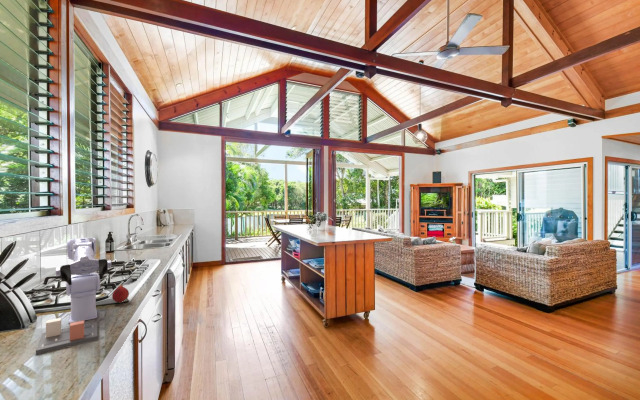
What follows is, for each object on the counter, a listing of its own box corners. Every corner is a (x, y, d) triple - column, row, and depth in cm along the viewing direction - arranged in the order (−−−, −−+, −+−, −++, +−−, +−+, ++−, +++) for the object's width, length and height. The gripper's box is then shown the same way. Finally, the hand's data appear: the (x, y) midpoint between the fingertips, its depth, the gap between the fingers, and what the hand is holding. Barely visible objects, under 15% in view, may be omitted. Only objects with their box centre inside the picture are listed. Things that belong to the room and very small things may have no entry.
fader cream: (46, 334, 91) (46, 320, 90) (61, 331, 93) (61, 317, 93) (45, 337, 88) (45, 323, 88) (60, 334, 91) (60, 320, 91)
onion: (120, 306, 117) (120, 287, 117) (108, 305, 119) (108, 286, 118) (132, 301, 123) (132, 283, 123) (121, 300, 124) (121, 282, 124)
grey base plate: (42, 337, 91) (42, 333, 91) (97, 325, 100) (97, 321, 100) (35, 354, 81) (35, 350, 81) (97, 339, 90) (97, 335, 90)
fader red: (70, 337, 89) (70, 323, 89) (84, 334, 91) (84, 320, 91) (69, 340, 87) (69, 326, 87) (84, 337, 89) (84, 323, 89)
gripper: (55, 254, 95) (53, 273, 85) (109, 247, 104) (113, 263, 94) (57, 272, 96) (55, 293, 87) (109, 264, 106) (113, 282, 96)
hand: (85, 279), depth 91 cm, fingers open, 7 cm apart
